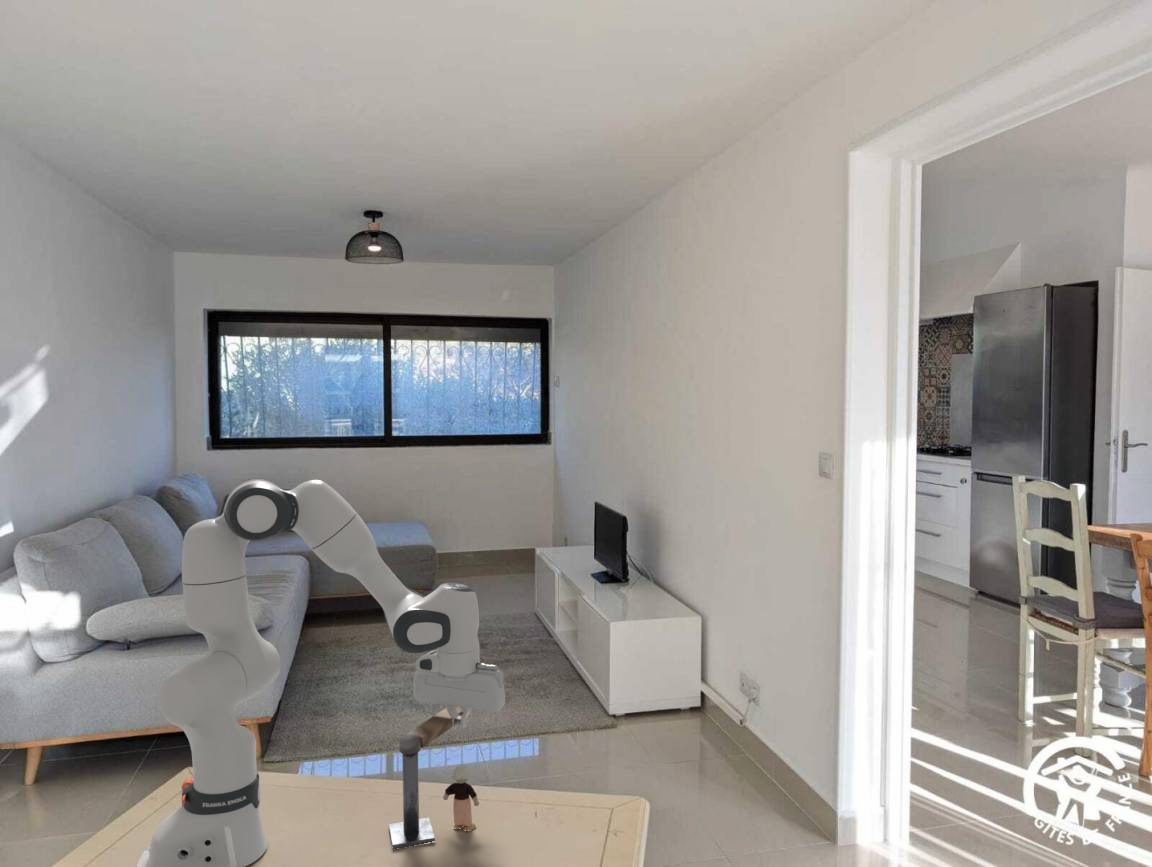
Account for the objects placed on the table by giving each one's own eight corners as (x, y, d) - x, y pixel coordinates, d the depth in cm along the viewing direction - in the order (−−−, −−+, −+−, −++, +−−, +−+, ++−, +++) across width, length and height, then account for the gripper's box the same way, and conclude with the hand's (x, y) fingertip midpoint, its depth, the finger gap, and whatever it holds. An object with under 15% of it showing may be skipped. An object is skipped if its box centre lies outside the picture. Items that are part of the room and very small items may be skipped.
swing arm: (412, 755, 159) (412, 743, 159) (395, 752, 160) (395, 740, 160) (467, 717, 178) (467, 706, 177) (451, 714, 179) (451, 703, 179)
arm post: (392, 849, 157) (391, 763, 156) (388, 828, 165) (387, 746, 164) (434, 842, 160) (433, 757, 159) (428, 822, 167) (427, 740, 166)
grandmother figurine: (482, 823, 167) (481, 762, 166) (478, 833, 163) (477, 770, 162) (445, 821, 168) (444, 760, 167) (440, 831, 164) (439, 769, 163)
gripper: (510, 661, 170) (511, 726, 171) (424, 651, 178) (425, 714, 178) (496, 671, 164) (497, 738, 165) (408, 660, 172) (409, 725, 172)
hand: (459, 725), depth 172 cm, fingers closed
